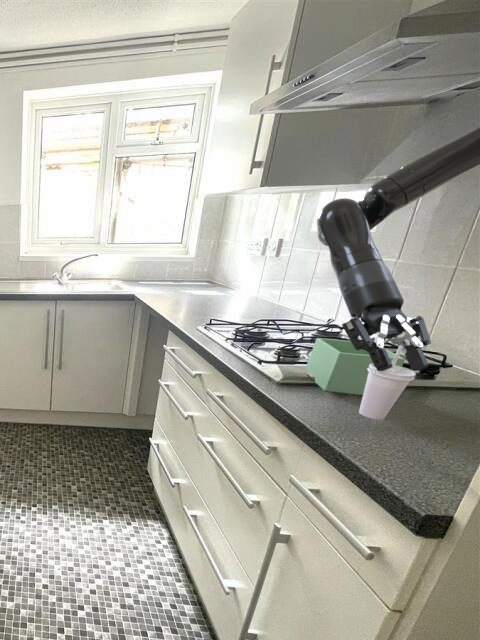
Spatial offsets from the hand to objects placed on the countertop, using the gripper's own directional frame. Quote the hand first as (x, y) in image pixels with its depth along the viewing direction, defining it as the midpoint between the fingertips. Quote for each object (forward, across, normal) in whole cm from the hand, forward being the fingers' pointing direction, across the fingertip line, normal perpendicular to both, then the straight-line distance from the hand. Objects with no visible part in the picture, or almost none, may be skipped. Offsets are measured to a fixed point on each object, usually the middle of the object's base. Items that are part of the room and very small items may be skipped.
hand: (402, 369), depth 75 cm
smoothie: (+6, 0, +9) cm, 11 cm away
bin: (-7, +15, +26) cm, 31 cm away
